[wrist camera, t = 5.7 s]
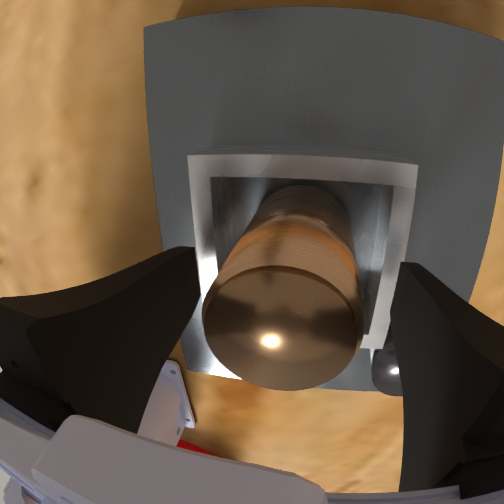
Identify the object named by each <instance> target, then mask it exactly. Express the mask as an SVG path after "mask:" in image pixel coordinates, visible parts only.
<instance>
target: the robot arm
mask: <svg viewBox="0 0 504 504" xmlns="http://www.w3.org/2000/svg"><path fill="white" fill-rule="evenodd" d="M200 296H201V292H200V284H199V276H198V269H197V261H196V252H195V247H189V246H177V247H174V248H171V249H169V250H166V251H164V252H162V253H159V254H157V255H155V256H153V257H151V258H148V259H146V260H144V261H142V262H140V263H138V264H135V265H133V266H131V267H128V268H126V269H124V270H121V271H119V272H117V273H114V274H112V275H109V276H107V277H104V278H101V279H99V280H96V281H93V282H90V283H86V284H83V285H79V286H75V287H71V288H67V289H64V290H59V291H54V292H49V293H43V294H36V295H29V296H16V297H2V298H0V366H1V368H2V370H3V371H2V372H1V373H0V468H1V469H2V470H3V471H5V472H6V473H7V474H8V475H9V476H11V478H10V480H9V482H8V483H7V485H6V487H5V488H4V494H5V495H4V502H5V504H504V326H502V325H500V324H499V323H497V322H495V321H494V320H492V319H491V318H489V317H488V316H486V315H484V314H483V313H481V312H480V311H478V310H477V309H476V308H474V307H473V306H471V305H470V304H469V303H468V302H466V301H465V300H464V299H462V298H461V297H460V296H458V295H457V294H456V293H455V292H453V291H452V290H451V289H450V288H449V287H447V286H446V285H445V284H444V283H443V282H441V281H440V280H439V279H438V278H437V277H435V276H434V275H433V274H432V273H431V272H429V271H428V270H427V269H426V268H424V267H423V266H422V265H420V264H418V263H414V262H401V263H400V268H399V272H398V277H397V282H396V287H395V291H394V295H393V300H392V304H391V308H390V321H391V333H392V339H393V344H394V349H395V354H396V358H397V363H398V369H399V374H400V379H401V385H402V392H403V409H404V438H403V457H402V469H401V477H400V485H399V492H391V493H328V492H325V491H324V490H323V489H322V488H321V487H320V486H319V485H318V484H316V483H313V482H311V481H309V480H307V479H305V478H303V477H301V476H299V475H297V474H295V473H292V472H287V471H282V470H278V469H274V468H270V467H266V466H262V465H258V464H253V463H247V462H241V461H236V460H231V459H226V458H221V457H216V456H212V455H208V454H203V453H199V452H195V451H191V450H187V449H184V448H180V447H176V446H177V443H178V441H179V439H180V437H181V435H182V432H183V430H184V428H185V427H189V428H194V427H195V426H196V423H195V420H194V417H193V413H192V410H191V407H190V403H189V400H188V396H187V393H186V389H185V385H184V382H183V378H182V374H181V371H180V367H179V365H178V363H177V362H175V361H172V360H167V358H168V357H169V355H170V353H171V351H172V350H173V348H174V346H175V345H176V343H177V341H178V340H179V338H180V336H181V335H182V333H183V331H184V330H185V328H186V326H187V325H188V323H189V321H190V319H191V318H192V316H193V313H194V311H195V309H196V306H197V304H198V301H199V298H200Z"/></svg>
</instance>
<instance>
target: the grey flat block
mask: <svg viewBox="0 0 504 504" xmlns="http://www.w3.org/2000/svg"><path fill="white" fill-rule="evenodd" d="M144 64H145V87H146V104H147V118H148V130H149V141H150V152H151V162H152V171H153V180H154V188H155V196H156V204H157V211H158V218H159V225H160V232H161V238H162V245H163V251H166V250H169V249H171V248H174V247H177V246H189V247H195V252H196V261H197V269H198V276H199V284H200V292H201V296H200V298H199V301H198V304H197V306H196V309H195V311H194V313H193V316H192V318H191V319H190V321H189V323H188V325H187V326H186V328H185V330H184V331H183V333H182V335H181V336H180V339H181V344H182V348H183V352H184V357H185V361H186V365H187V369H188V370H192V371H197V372H202V373H207V374H213V375H219V376H225V377H231V378H237V379H241V378H239V377H237V376H236V375H234V374H233V373H231V372H230V371H229V370H228V369H226V368H225V367H224V366H223V365H222V364H221V363H220V362H219V361H218V360H217V359H216V357H215V356H214V355H213V353H212V351H211V350H210V348H209V346H208V344H207V341H206V338H205V334H204V328H203V324H202V315H201V313H202V305H203V301H204V297H205V295H206V293H207V291H208V289H209V287H210V286H211V284H212V283H213V281H214V279H215V278H216V276H217V274H218V273H219V271H220V269H221V268H222V266H223V265H224V263H225V261H226V260H227V258H228V256H229V255H230V253H231V252H232V250H233V248H234V247H235V245H236V243H237V242H238V240H239V239H240V237H241V235H242V234H243V232H244V231H245V229H246V227H247V226H248V224H249V223H250V221H251V219H252V218H253V216H254V214H255V213H256V211H257V210H258V208H259V207H260V205H261V204H262V202H263V201H264V200H265V199H266V198H267V197H268V196H270V195H271V194H272V193H274V192H276V191H277V190H280V189H282V188H285V187H288V186H294V185H307V186H313V187H317V188H319V189H322V190H324V191H326V192H328V193H329V194H331V195H332V196H333V197H335V198H336V199H337V200H338V201H339V202H340V203H341V205H342V206H343V207H344V209H345V211H346V212H347V214H348V217H349V220H350V223H351V229H352V235H353V241H354V247H355V254H356V260H357V267H358V275H359V282H360V290H361V298H362V307H363V316H364V335H363V340H362V343H361V346H360V348H359V350H358V352H357V354H356V355H355V356H354V358H353V359H352V360H351V362H350V363H349V364H348V366H347V367H346V368H345V369H344V370H343V371H342V372H341V373H340V374H339V375H338V376H336V377H335V378H333V379H332V380H330V381H328V382H326V383H324V384H322V385H319V386H316V387H313V388H322V389H336V390H354V391H380V392H382V393H384V394H387V395H391V396H403V392H402V385H401V379H400V374H399V369H398V363H397V358H396V354H395V349H394V344H393V339H392V333H391V321H390V308H391V304H392V300H393V295H394V291H395V287H396V282H397V277H398V272H399V268H400V263H401V262H414V263H418V264H420V265H422V266H423V267H424V268H426V269H427V270H428V271H429V272H431V273H432V274H433V275H434V276H435V277H437V278H438V279H439V280H440V281H441V282H443V283H444V284H445V285H446V286H447V287H449V288H450V289H451V290H452V291H453V292H455V293H456V294H457V295H458V296H460V297H461V298H462V299H464V300H465V301H466V302H469V299H470V297H471V294H472V291H473V288H474V285H475V281H476V278H477V275H478V272H479V268H480V265H481V261H482V258H483V254H484V251H485V247H486V243H487V239H488V235H489V230H490V226H491V222H492V217H493V212H494V207H495V202H496V196H497V190H498V184H499V178H500V171H501V163H502V154H503V144H504V41H502V40H499V39H497V38H494V37H491V36H488V35H485V34H482V33H479V32H475V31H472V30H469V29H465V28H462V27H458V26H454V25H450V24H446V23H442V22H438V21H434V20H429V19H424V18H419V17H414V16H409V15H403V14H396V13H390V12H382V11H374V10H365V9H354V8H339V7H269V8H254V9H243V10H233V11H225V12H217V13H210V14H204V15H198V16H192V17H187V18H182V19H177V20H172V21H167V22H163V23H158V24H154V25H150V26H146V27H144Z"/></svg>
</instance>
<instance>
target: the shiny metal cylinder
mask: <svg viewBox="0 0 504 504" xmlns="http://www.w3.org/2000/svg"><path fill="white" fill-rule="evenodd" d="M201 315H202V324H203V328H204V334H205V338H206V341H207V344H208V346H209V348H210V350H211V351H212V353H213V355H214V356H215V357H216V359H217V360H218V361H219V362H220V363H221V364H222V365H223V366H224V367H225V368H226V369H228V370H229V371H230V372H231V373H233V374H234V375H236V376H237V377H239V378H241V379H243V380H245V381H247V382H249V383H251V384H254V385H257V386H260V387H264V388H268V389H274V390H283V391H295V390H304V389H309V388H313V387H316V386H319V385H322V384H324V383H326V382H328V381H330V380H332V379H333V378H335V377H336V376H338V375H339V374H340V373H341V372H342V371H343V370H344V369H345V368H346V367H347V366H348V364H349V363H350V362H351V360H352V359H353V358H354V356H355V355H356V354H357V352H358V350H359V348H360V346H361V343H362V340H363V335H364V316H363V307H362V298H361V290H360V282H359V275H358V267H357V260H356V254H355V247H354V241H353V235H352V229H351V223H350V220H349V217H348V214H347V212H346V211H345V209H344V207H343V206H342V205H341V203H340V202H339V201H338V200H337V199H336V198H335V197H333V196H332V195H331V194H329V193H328V192H326V191H324V190H322V189H319V188H317V187H313V186H307V185H294V186H288V187H285V188H282V189H280V190H277V191H276V192H274V193H272V194H271V195H270V196H268V197H267V198H266V199H265V200H264V201H263V202H262V204H261V205H260V207H259V208H258V210H257V211H256V213H255V214H254V216H253V218H252V219H251V221H250V223H249V224H248V226H247V227H246V229H245V231H244V232H243V234H242V235H241V237H240V239H239V240H238V242H237V243H236V245H235V247H234V248H233V250H232V252H231V253H230V255H229V256H228V258H227V260H226V261H225V263H224V265H223V266H222V268H221V269H220V271H219V273H218V274H217V276H216V278H215V279H214V281H213V283H212V284H211V286H210V287H209V289H208V291H207V293H206V295H205V297H204V301H203V305H202V313H201Z"/></svg>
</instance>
